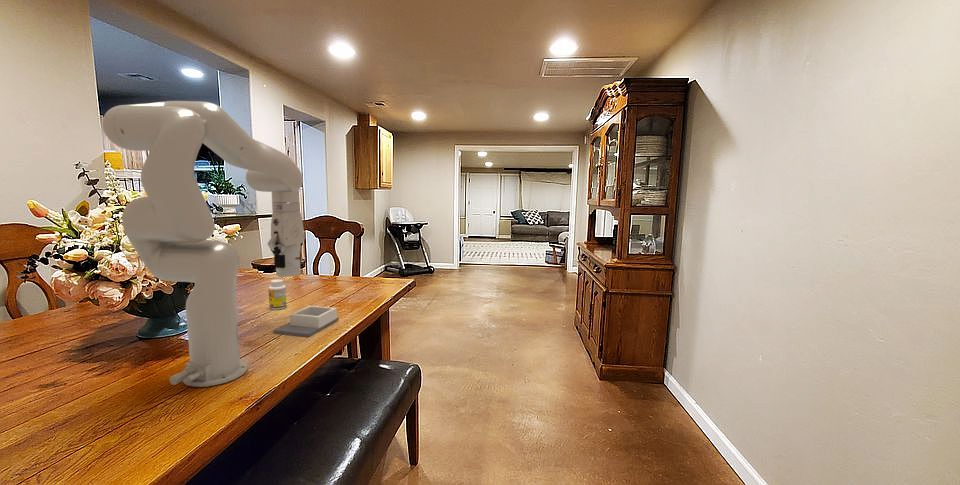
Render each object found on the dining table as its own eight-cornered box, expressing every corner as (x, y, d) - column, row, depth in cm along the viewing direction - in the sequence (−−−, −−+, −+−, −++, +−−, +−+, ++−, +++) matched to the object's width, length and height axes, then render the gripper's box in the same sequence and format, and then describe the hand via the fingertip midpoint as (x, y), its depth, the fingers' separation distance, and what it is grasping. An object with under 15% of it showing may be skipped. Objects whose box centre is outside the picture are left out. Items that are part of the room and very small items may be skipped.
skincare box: (280, 278, 119) (279, 238, 117) (275, 275, 122) (273, 237, 120) (301, 275, 123) (300, 237, 122) (296, 273, 126) (294, 235, 125)
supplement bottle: (269, 306, 144) (268, 279, 142) (286, 305, 146) (285, 278, 145) (269, 311, 139) (268, 282, 137) (286, 309, 141) (285, 281, 140)
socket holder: (308, 337, 116) (308, 322, 115) (273, 333, 118) (272, 318, 117) (338, 320, 131) (338, 307, 131) (306, 316, 134) (306, 304, 133)
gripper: (278, 210, 111) (280, 271, 113) (313, 207, 128) (315, 261, 130) (254, 209, 112) (257, 270, 114) (292, 206, 129) (295, 259, 131)
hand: (288, 264), depth 122 cm, fingers closed on skincare box, 7 cm apart
